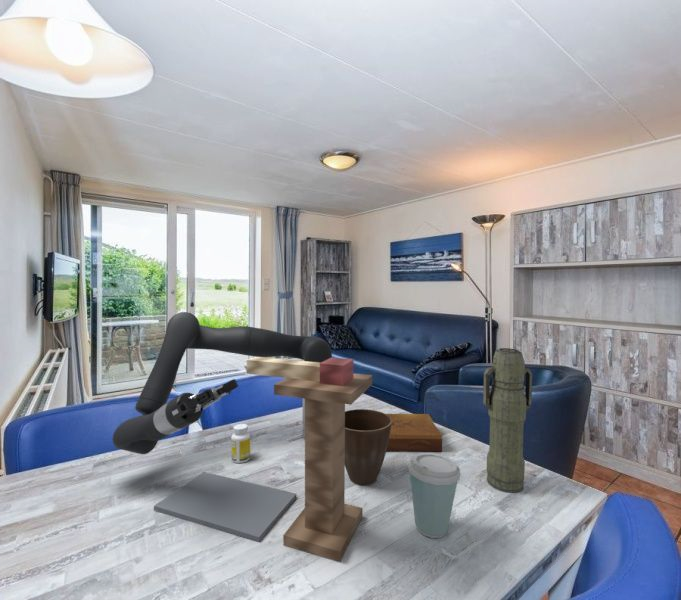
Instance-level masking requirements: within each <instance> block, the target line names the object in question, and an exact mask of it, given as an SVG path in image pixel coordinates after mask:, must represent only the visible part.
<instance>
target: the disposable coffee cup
mask: <svg viewBox="0 0 681 600" xmlns="http://www.w3.org/2000/svg"><path fill="white" fill-rule="evenodd" d="M407 469H408V471H409V479H410V488H411V498H412V506H413V515H414V523H415V526H416V528H417V530H418V532H419V533H421V534H422V536H423V535H424V536H425V537H427V538H431V539H440V538H442V537H444V536H445V535H446V533H447V532H448V529H449V524H450V519H451V515H452V509H453V507H454V505H453V504H454V501H455V497H456V490H457V486H458V481H460V478H461V469H460V467H459V466H458V464H457V463H456V462H455V461H454V460H453V459H451V458H449V457H448V456H445V455H443V454H441V453H440V454H439V453H436V452H419V453H416V454H414V455H413V456H412V457H411V459H410V461H409V462H408V467H407Z"/></svg>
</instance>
